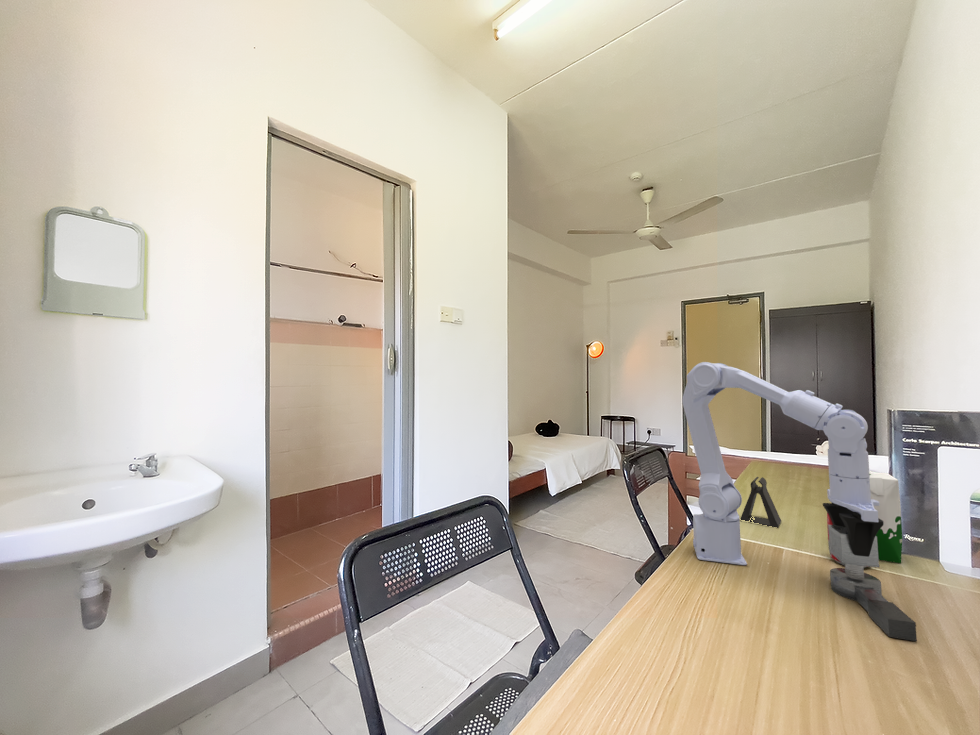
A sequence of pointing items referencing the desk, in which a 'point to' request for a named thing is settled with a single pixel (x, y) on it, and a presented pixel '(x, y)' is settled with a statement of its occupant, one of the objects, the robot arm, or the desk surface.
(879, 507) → the milk carton
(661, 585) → the desk surface
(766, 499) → the phone stand
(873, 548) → the grey block
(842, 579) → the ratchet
